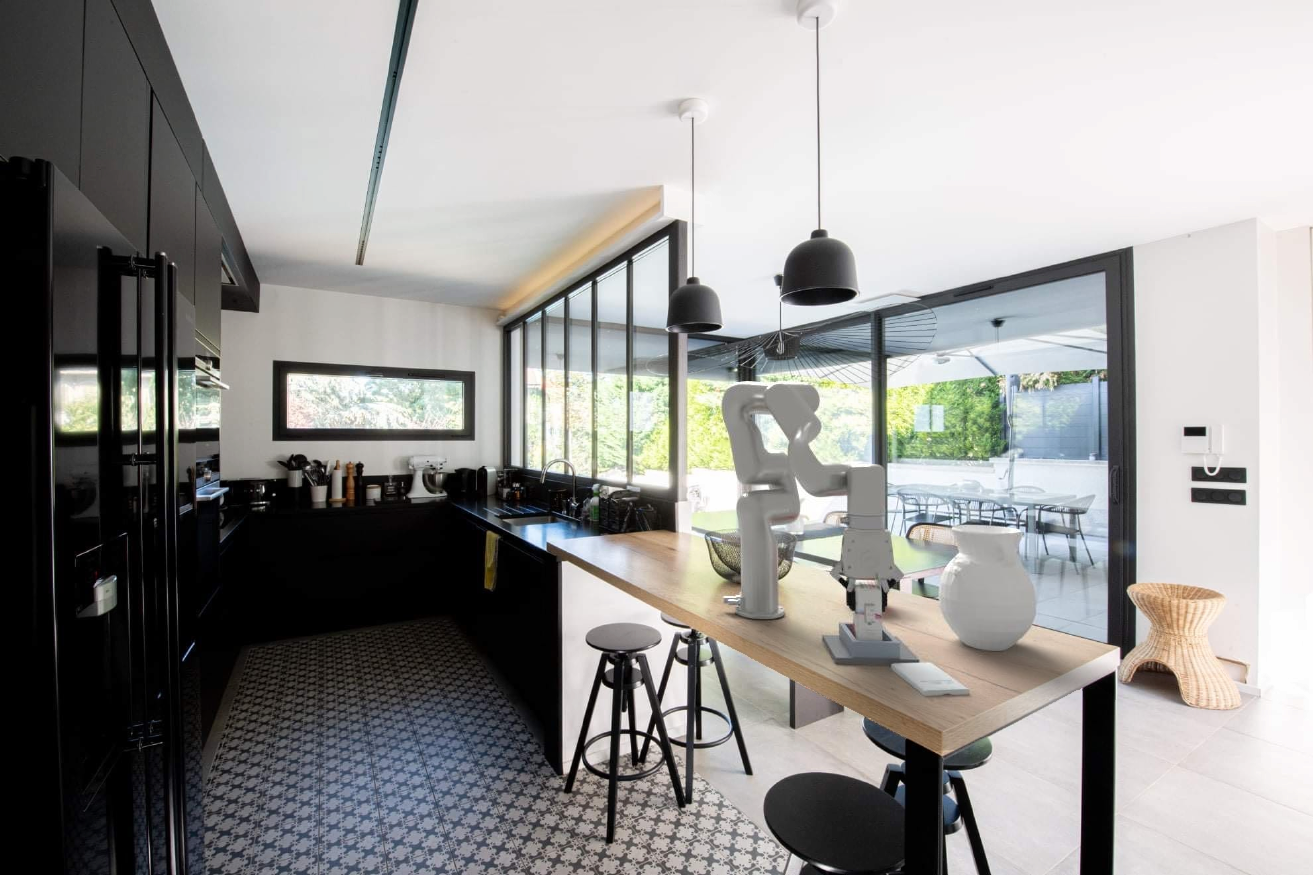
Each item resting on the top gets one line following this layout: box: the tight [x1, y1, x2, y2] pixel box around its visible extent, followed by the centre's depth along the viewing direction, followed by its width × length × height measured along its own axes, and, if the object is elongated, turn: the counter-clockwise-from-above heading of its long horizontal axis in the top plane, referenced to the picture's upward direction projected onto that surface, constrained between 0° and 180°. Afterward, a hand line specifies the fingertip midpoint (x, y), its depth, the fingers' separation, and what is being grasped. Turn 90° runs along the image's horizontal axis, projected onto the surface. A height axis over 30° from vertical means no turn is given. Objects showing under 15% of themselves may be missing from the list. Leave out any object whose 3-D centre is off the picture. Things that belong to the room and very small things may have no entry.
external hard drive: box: [890, 662, 971, 697], centre depth 108 cm, size 2×8×12 cm
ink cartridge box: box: [852, 573, 883, 641], centre depth 123 cm, size 9×5×15 cm, turn 169°
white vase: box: [938, 524, 1037, 652], centre depth 128 cm, size 19×18×25 cm
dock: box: [821, 621, 920, 666], centre depth 123 cm, size 16×14×4 cm
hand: (866, 608), depth 123 cm, fingers closed on ink cartridge box, 5 cm apart
